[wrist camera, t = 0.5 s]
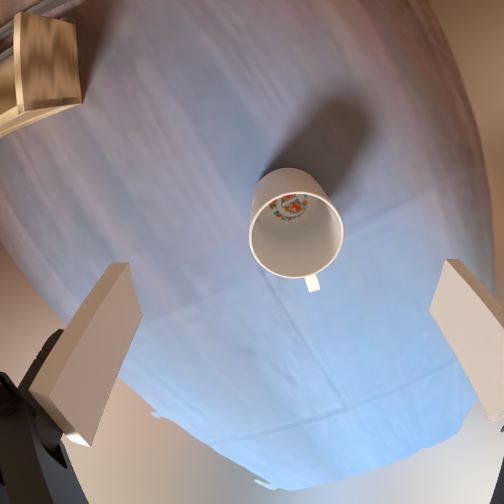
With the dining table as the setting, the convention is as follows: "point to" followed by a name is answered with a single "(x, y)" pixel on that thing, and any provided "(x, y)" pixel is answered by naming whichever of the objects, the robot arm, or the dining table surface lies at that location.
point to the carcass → (38, 67)
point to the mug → (294, 226)
